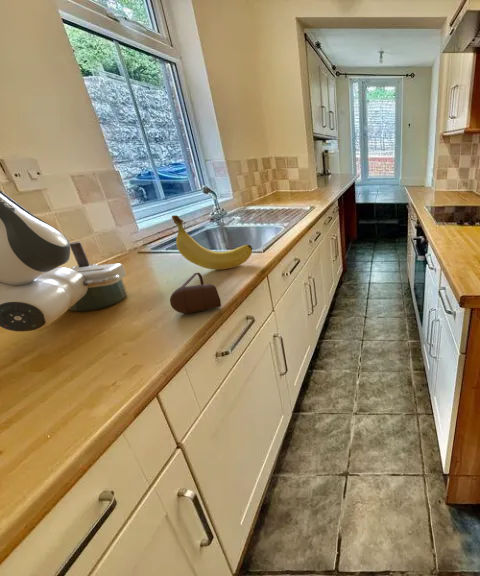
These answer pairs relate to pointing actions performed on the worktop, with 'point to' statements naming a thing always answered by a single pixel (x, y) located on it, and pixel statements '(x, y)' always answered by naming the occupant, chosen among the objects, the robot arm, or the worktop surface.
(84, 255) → the stirring stick
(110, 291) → the bowl
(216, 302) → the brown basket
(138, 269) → the worktop surface
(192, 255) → the banana
